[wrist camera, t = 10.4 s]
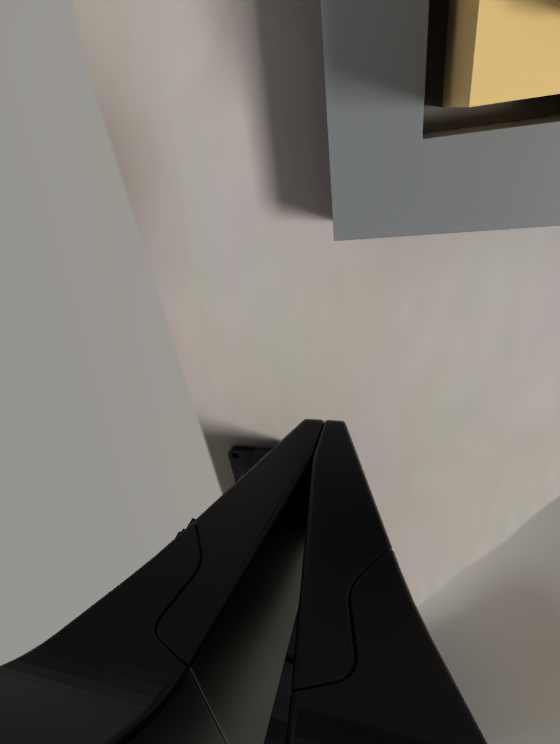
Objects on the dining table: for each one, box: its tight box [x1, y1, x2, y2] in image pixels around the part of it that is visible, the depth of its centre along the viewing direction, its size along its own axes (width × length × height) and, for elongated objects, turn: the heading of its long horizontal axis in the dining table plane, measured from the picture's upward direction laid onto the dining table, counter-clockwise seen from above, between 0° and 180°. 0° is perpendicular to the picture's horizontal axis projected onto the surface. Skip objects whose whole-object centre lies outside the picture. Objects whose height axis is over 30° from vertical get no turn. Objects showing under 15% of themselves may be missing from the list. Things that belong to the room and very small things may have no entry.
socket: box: [320, 0, 560, 241], centre depth 12 cm, size 12×12×3 cm
